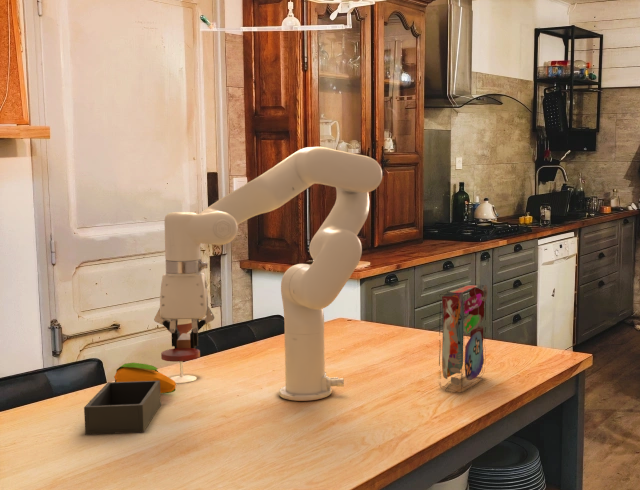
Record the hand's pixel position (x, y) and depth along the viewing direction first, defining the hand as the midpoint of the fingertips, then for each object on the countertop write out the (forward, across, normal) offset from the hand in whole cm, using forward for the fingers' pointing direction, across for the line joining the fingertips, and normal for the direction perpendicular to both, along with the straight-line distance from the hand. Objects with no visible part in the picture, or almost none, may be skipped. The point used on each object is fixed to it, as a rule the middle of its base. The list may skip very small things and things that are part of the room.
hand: (185, 348), depth 174 cm
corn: (+15, +11, -15) cm, 24 cm away
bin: (+14, +12, +4) cm, 19 cm away
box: (+14, -68, -16) cm, 72 cm away
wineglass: (+14, +5, -28) cm, 32 cm away
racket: (0, 0, +3) cm, 3 cm away
